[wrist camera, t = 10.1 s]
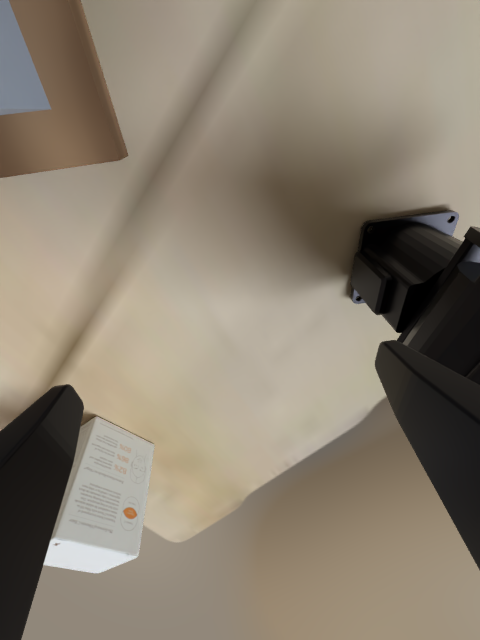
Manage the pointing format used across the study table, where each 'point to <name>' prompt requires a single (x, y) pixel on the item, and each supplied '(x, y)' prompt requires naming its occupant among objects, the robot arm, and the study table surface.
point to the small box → (102, 500)
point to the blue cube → (17, 69)
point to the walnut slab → (60, 96)
